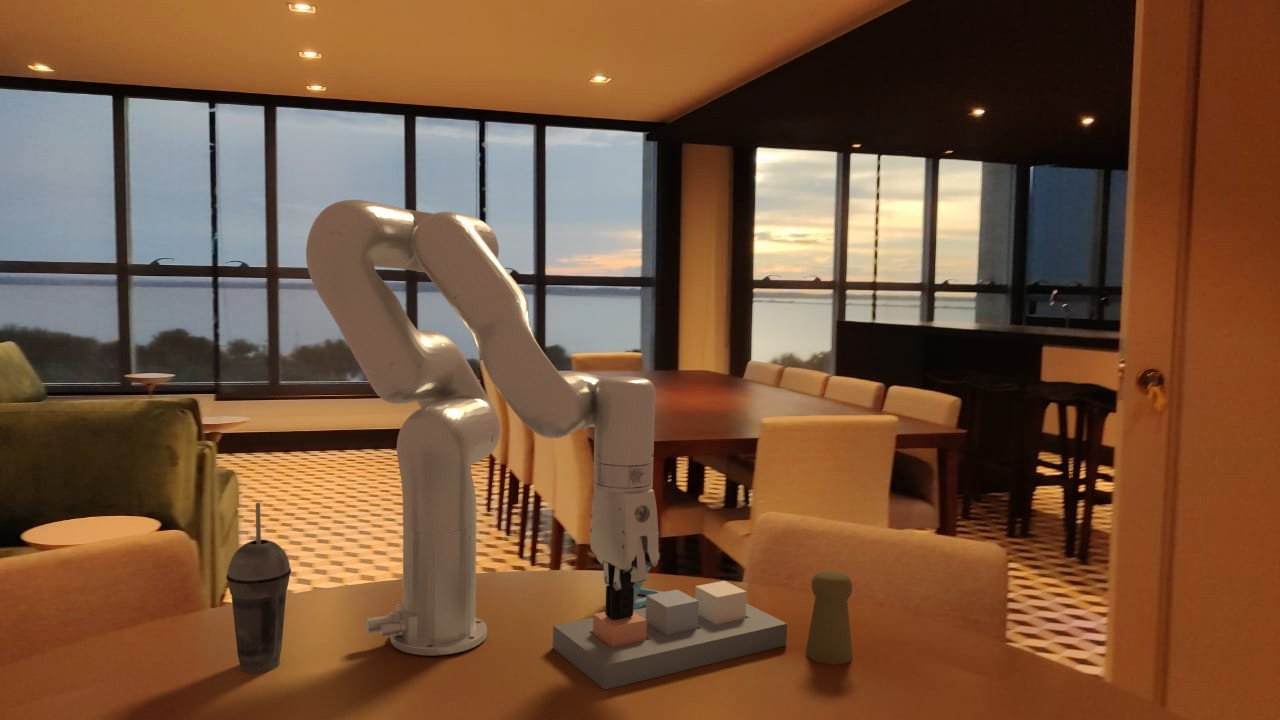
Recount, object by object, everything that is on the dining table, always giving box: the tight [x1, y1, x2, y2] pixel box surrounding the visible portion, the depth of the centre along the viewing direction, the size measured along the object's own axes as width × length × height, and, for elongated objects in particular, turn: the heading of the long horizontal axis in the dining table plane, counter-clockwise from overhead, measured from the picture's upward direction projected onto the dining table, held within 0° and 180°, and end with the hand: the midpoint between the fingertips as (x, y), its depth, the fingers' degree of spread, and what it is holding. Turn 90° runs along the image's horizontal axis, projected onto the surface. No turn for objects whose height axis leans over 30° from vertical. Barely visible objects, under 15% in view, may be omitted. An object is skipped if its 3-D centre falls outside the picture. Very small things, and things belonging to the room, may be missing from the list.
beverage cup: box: [226, 502, 292, 674], centre depth 107 cm, size 7×7×20 cm
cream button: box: [694, 580, 748, 625], centre depth 120 cm, size 5×5×4 cm
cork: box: [805, 569, 853, 665], centre depth 115 cm, size 6×6×11 cm
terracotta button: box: [592, 611, 647, 648], centre depth 112 cm, size 5×5×4 cm
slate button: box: [645, 589, 699, 636], centre depth 116 cm, size 5×5×4 cm
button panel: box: [552, 597, 788, 691], centre depth 116 cm, size 28×14×3 cm, turn 122°
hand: (619, 616), depth 112 cm, fingers closed
